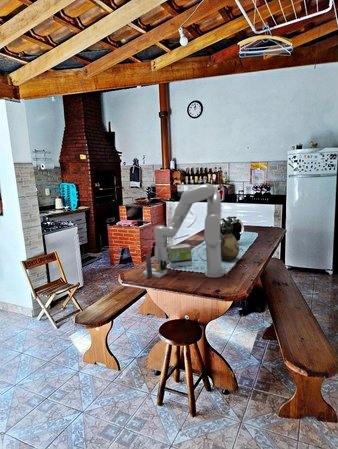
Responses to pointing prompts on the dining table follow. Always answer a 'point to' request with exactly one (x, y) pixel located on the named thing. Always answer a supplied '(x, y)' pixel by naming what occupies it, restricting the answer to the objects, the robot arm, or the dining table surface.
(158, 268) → the toggle amber
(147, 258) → the post left
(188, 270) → the dining table surface
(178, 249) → the tea box
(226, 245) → the ceramic jug
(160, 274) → the panel
